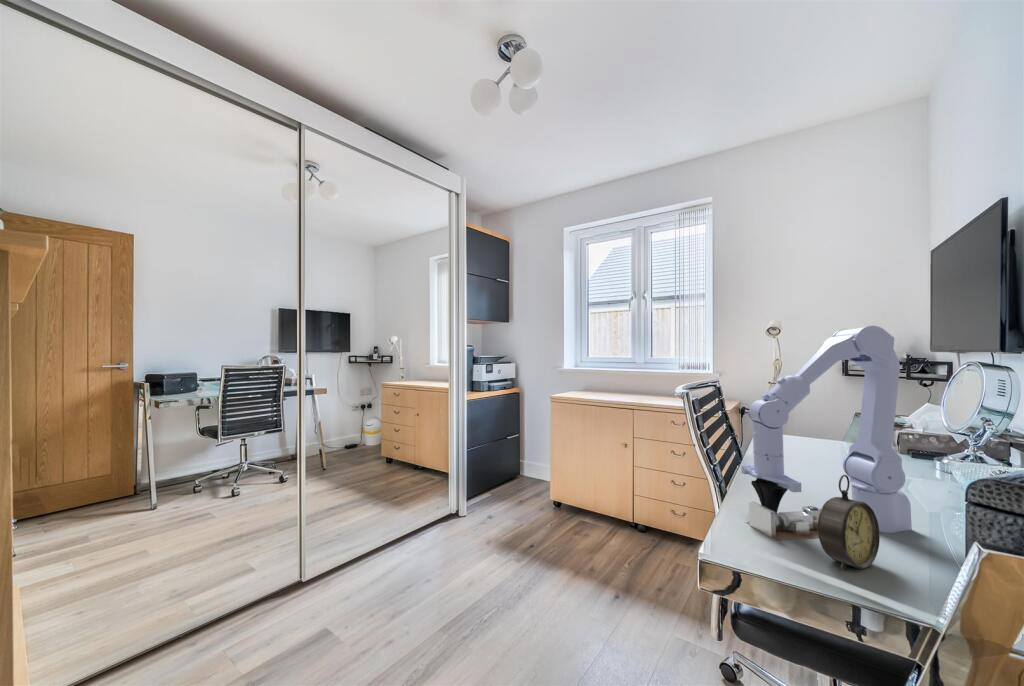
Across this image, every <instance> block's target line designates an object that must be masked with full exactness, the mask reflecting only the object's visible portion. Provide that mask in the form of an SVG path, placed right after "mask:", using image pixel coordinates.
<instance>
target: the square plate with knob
mask: <svg viewBox="0 0 1024 686" xmlns="http://www.w3.org/2000/svg"><path fill="white" fill-rule="evenodd" d="M748 511H749V512H748V515H749V517H748V518H749V521H748V522H750V525H751V526H750V525H749V526H750V527H752V528H754V529H755V528H756V529H755V530H757V529H758V530H757V531H759V532H760V533H762V534H764V533H765V534H764V535H766V534H767V535H766V536H768V537H770V538H772V537H776V530H780V529H782V528H783V520H782V518H781V517H780V515H779V514H777V513H778V512H777V513H775V511H773V510H771V509H768V508H766V507H764V506H762V505H761V503H758V502H756V501H754V500H753V501H751V500H750V501H748ZM792 533H794V534H796V535H801V534H809V523H808V522H806V521H797V522H792Z"/></svg>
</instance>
